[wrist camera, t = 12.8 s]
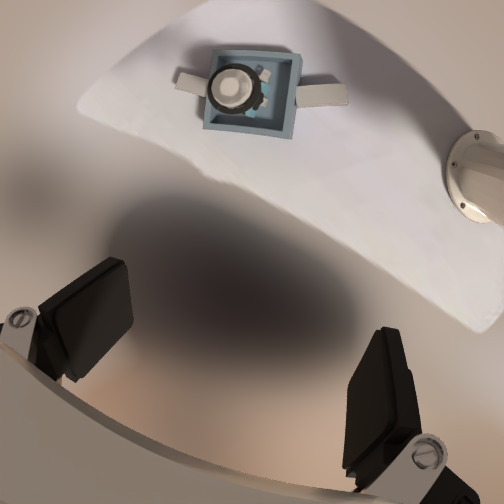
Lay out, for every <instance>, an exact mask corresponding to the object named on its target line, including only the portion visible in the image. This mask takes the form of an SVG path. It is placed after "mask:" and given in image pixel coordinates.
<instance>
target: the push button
mask: <svg viewBox="0 0 504 504" xmlns="http://www.w3.org/2000/svg"><path fill="white" fill-rule="evenodd" d="M264 72H265V73H264ZM247 73H248V74H249V75H250V76H251V77H249V76H248V74H247ZM265 74H266V75H265ZM270 75H271V72H270V71H268V70H266V69H264V70H263V72H262V74H261V75H260V76H258V75H257V73H256V72H255V71H254V70H253V69H252V68H250V67H249V66H247V65H244V64H240V63H232V64H227V65H225V66H222V67H221V68H219V69H218V70H217V71H215V72H214V74H213V75H212V76H211V78H210V80H209V82H208V86H207V95H208V99H209V101H210V103H211V104H212V106H213V107H214V108H215V109H217V110H218V111H220V112H222V113H225V114H231V115H235V114H241V113H242V114H244V115H246V116H248V117H252V118H255V116H256V113H257V111H258V109H259V107H260V106H263V107H265V106H266V104H267V102H268V99H266V98H265V96H266V94H267V92H268V90H269V88H270V86H269V85H268V84H267V83H268V81H269V80H268V79H269V77H270ZM265 103H266V104H265ZM227 107H234V109H230V108H227Z"/></svg>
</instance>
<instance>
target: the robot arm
mask: <svg viewBox="0 0 504 504" xmlns="http://www.w3.org/2000/svg"><path fill="white" fill-rule="evenodd" d="M474 135H475V136H474ZM452 162H453V165H452ZM446 181H447V187H448V191H449V194H450V197H451V199H452V201H453V203H454V205H455V206H456V208H457V209H458V210H459V211H460V212H461V213H462V214H463V215H464V216H465V217H467V218H468V219H470V220H472V221H474V222H477V223H489V222H492V221H493V222H495V223H496V224H498V225H499V226H501V227H502V228H504V142H503V141H502V140H501V139H500V138H499V137H497V136H496V135H494V134H493V133H490V132H488V131H482V130H474V131H470V132H467V133H466V134H464V135H462V136H461V137H460V138H459V139H458V140H457V141H456V142H455V144H454V145H453V147H452V149H451V151H450V154H449V157H448V161H447V168H446ZM460 204H461V205H460ZM38 308H39V311H40V314H39V315H38V316H37V313H36V311H35V310H34V309H33V308H30V307H20V308H17V309H15V310H13V311H12V312H11V313H10V314H9V315H8V316H7V318H6V320H5V323H1V324H0V504H480V499H479V496H478V494H477V493H476V492H475V491H474V490H473V489H472V488H471V487H469V486H468V485H467V484H466V483H465V482H464V481H462V480H461V479H460V478H459V477H458V476H457V475H456V474H455V473H453V472H452V471H451V470H450V469H449V468H448V467H447V466H445V464H446V462H447V456H448V453H447V449H446V446H445V445H444V443H443V442H442V441H441V440H440V439H439V438H438V437H436V436H434V435H432V434H422V429H421V421H420V415H419V408H418V402H417V396H416V391H415V386H414V380H413V375H412V372H411V370H409V369H408V366H407V362H406V357H405V353H404V348H403V344H402V341H401V336H400V332H399V330H398V329H394V328H389V327H382V328H381V330H376V331H375V333H374V335H373V337H372V339H371V341H370V343H369V345H368V347H367V349H366V351H365V353H364V355H363V357H362V359H361V361H360V363H359V365H358V367H357V368H356V370H355V372H354V374H353V376H352V378H351V380H350V382H349V384H348V389H347V413H346V429H345V443H344V453H343V465H342V467H343V469H347V470H346V477H351V478H356V480H355V484H356V487H355V488H354V489H353V490H352V491H351V492H345V491H338V490H331V489H323V488H316V487H308V486H303V485H297V484H291V483H286V482H281V481H277V480H271V479H268V478H263V477H259V476H254V475H251V474H247V473H243V472H240V471H236V470H232V469H229V468H226V467H223V466H220V465H217V464H213V463H210V462H208V461H205V460H202V459H199V458H196V457H194V456H191V455H188V454H186V453H183V452H181V451H178V450H176V449H174V448H171V447H169V446H166V445H164V444H162V443H160V442H158V441H155V440H153V439H151V438H149V437H146V436H145V435H143V434H141V433H139V432H136V431H134V430H133V429H131V428H129V427H127V426H125V425H123V424H121V423H119V422H118V421H116V420H114V419H112V418H110V417H109V416H107V415H105V414H104V413H102V412H100V411H99V410H97V409H95V408H94V407H92V406H90V405H89V404H87V403H86V402H84V401H83V400H81V399H80V398H78V397H76V396H75V395H73V394H72V393H70V392H69V391H68V390H66V389H65V388H64V387H62V386H61V384H62V375H63V374H64V373H65V375H66V377H67V378H69V379H70V380H72V381H73V382H75V383H76V382H77V381H78V379H80V378H83V377H85V376H86V374H87V373H88V372H89V371H90V370H91V369H92V368H93V367H94V366H95V365H96V364H97V363H98V361H99V360H100V359H101V358H102V357H103V356H104V355H105V354H106V353H107V352H108V351H109V350H110V349H111V348H112V347H113V345H114V344H115V343H116V342H117V341H118V340H119V339H120V338H121V337H122V336H123V335H124V334H125V333H126V332H127V331H128V330H129V328H131V326H132V325H133V321H134V318H133V313H132V305H131V297H130V289H129V280H128V270H127V266H126V265H125V263H124V261H123V260H120V259H117V258H114V257H109V258H107V259H105V260H104V261H102V262H101V263H99V264H98V265H96V266H95V267H93V268H92V269H90V270H89V271H87V272H86V273H84V274H83V275H81V276H80V277H79V278H77V279H76V280H74V281H73V282H71V283H70V284H68V285H67V286H66V287H64V288H63V289H61V290H60V291H58V292H57V293H56V294H54V295H53V296H52V297H50V298H49V299H47V300H46V301H45V302H43V303H42V304H41V305H39V306H38Z"/></svg>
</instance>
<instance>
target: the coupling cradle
mask: <svg viewBox="0 0 504 504" xmlns="http://www.w3.org/2000/svg"><path fill="white" fill-rule="evenodd" d="M232 63H240V64H244V65H247V66H249V67H250V68H252V69H253V70H254V71H255V72H256V73H257V75H258V76H260V75H261V74H262V72H263V70H264V69H266V70H268V71H270V72H271V75H270V77H269V79H268V80H269V81H268V83H267V84H268V85H269V86H270V88H269V90H268V92H267V94H266V96H265V98H266V99H268V102H267V104H266V103H265V104H266V106H265V107H263V106H260V107H259V109H258V111H257V113H256V116H255V118H252V117H248V116H246V115H244V114H242V113H241V114H235V115H231V114H225V113H222V112H220V111H218V110H217V109H215V108H214V107H213V106H212V104H211V103H210V101H209V99H208V95H207V86H208V82H209V80H210V78H211V76H212V75H213V74H214V72H215V71H217V70H218V69H219V68H221V67H222V66H225V65H227V64H232ZM302 63H303V60H302V58H301V55H300V54H294V53H284V52H272V51H254V50H213V54H212V61H211V67H210V74H209V79H205V78H202V77H198V76H194V75H190V74H186V73H182V72H181V73H180V75H179V78H178V80H177V83H176V86H175V89H178V90H182V91H186V92H189V93H193V94H196V95H199V96H202V97H206V105H205V113H204V122H203V129H208V130H220V131H230V132H240V133H248V134H256V135H264V136H271V137H278V138H284V139H292V135H293V128H294V121H295V114H296V107H298V108H306V107H319V106H337V105H348V103H349V102H348V95H347V88H346V83H339V84H320V85H307V86H300V78H301V71H302ZM264 73H265V72H264ZM247 74H248V73H247ZM265 75H266V74H265ZM248 76H249V77H251V76H250V75H249V74H248ZM227 108H230V109H234V107H227Z"/></svg>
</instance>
